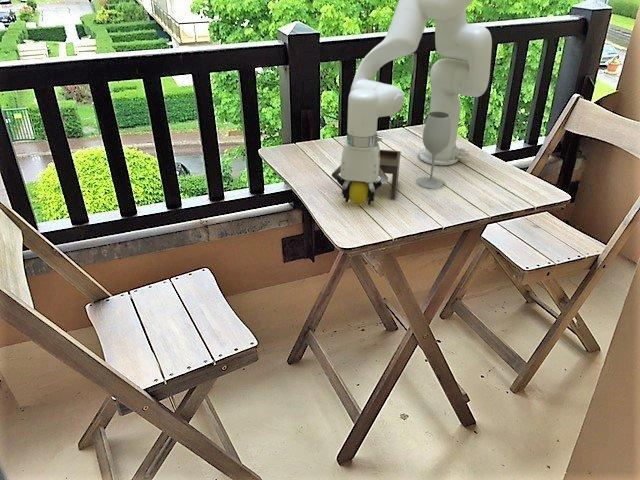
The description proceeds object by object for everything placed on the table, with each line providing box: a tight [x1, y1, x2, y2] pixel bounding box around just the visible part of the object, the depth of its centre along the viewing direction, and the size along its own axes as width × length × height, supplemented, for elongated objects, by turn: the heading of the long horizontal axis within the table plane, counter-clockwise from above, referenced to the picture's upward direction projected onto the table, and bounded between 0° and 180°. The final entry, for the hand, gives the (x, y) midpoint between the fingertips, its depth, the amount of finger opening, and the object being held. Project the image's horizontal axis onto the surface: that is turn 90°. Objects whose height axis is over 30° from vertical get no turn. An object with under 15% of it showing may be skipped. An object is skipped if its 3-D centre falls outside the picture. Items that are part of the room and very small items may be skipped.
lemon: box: [349, 181, 370, 207], centre depth 143 cm, size 6×6×8 cm
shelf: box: [341, 149, 402, 201], centre depth 151 cm, size 15×11×10 cm
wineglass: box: [417, 111, 451, 190], centre depth 152 cm, size 8×8×21 cm
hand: (358, 201), depth 145 cm, fingers closed on lemon, 5 cm apart
